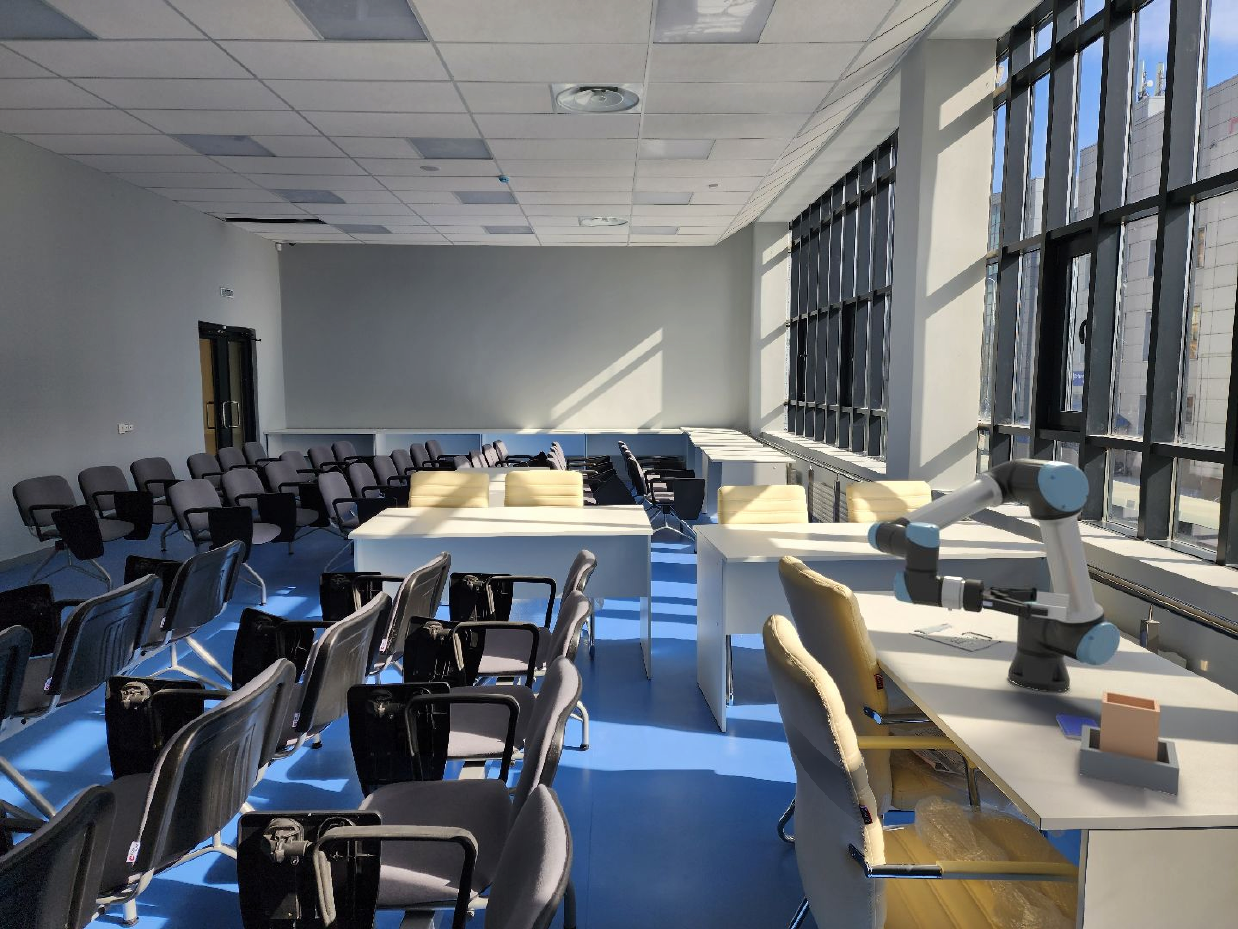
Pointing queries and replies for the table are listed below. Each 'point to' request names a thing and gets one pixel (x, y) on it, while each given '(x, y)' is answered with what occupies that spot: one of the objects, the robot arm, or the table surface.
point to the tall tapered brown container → (1130, 725)
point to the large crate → (1129, 764)
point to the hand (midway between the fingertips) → (1067, 607)
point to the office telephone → (940, 628)
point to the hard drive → (1074, 725)
